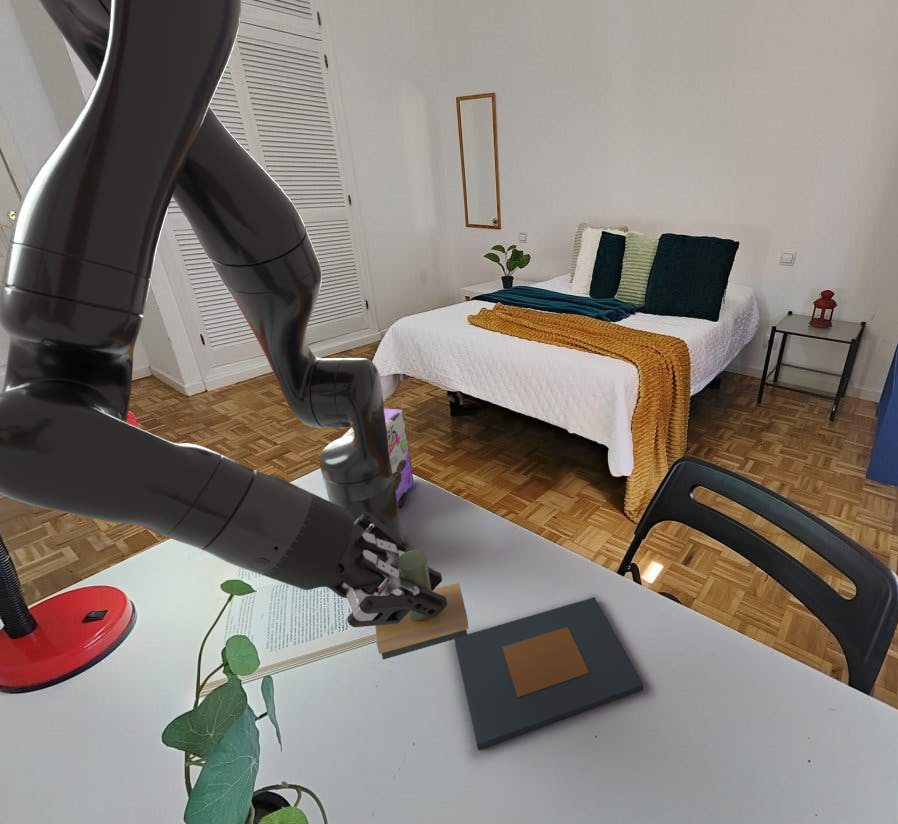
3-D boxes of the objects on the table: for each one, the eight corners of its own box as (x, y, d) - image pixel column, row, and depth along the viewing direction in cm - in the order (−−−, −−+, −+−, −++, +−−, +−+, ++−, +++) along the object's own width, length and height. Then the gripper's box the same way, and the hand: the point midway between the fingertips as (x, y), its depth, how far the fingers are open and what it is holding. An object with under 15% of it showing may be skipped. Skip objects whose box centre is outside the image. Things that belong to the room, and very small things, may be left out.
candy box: (379, 529, 84) (363, 447, 77) (348, 525, 85) (329, 443, 78) (415, 483, 96) (404, 408, 89) (387, 480, 97) (374, 405, 90)
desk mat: (454, 643, 64) (454, 637, 64) (594, 601, 70) (594, 596, 70) (477, 750, 53) (477, 744, 52) (643, 689, 59) (644, 683, 58)
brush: (378, 623, 54) (363, 553, 49) (460, 601, 56) (453, 533, 52) (380, 662, 50) (363, 590, 45) (469, 636, 52) (462, 566, 48)
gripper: (300, 554, 36) (476, 623, 45) (313, 457, 48) (451, 527, 57) (239, 624, 37) (424, 678, 46) (267, 512, 49) (410, 572, 58)
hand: (438, 594), depth 52 cm, fingers closed on brush, 3 cm apart
